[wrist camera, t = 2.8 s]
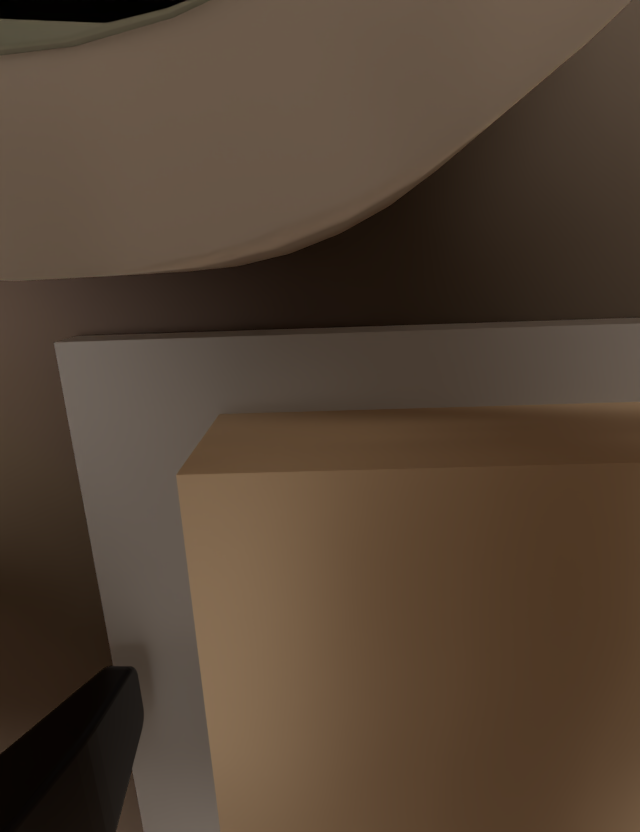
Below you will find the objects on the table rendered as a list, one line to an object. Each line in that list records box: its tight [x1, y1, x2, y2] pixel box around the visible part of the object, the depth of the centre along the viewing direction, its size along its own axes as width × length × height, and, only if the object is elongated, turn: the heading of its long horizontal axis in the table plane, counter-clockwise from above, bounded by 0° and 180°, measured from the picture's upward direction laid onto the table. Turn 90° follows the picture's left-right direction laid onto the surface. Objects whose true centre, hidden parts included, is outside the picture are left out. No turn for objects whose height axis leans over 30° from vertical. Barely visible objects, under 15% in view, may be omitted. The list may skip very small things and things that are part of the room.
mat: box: [54, 318, 640, 832], centre depth 8 cm, size 10×10×1 cm
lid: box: [176, 402, 640, 832], centre depth 7 cm, size 6×8×2 cm
